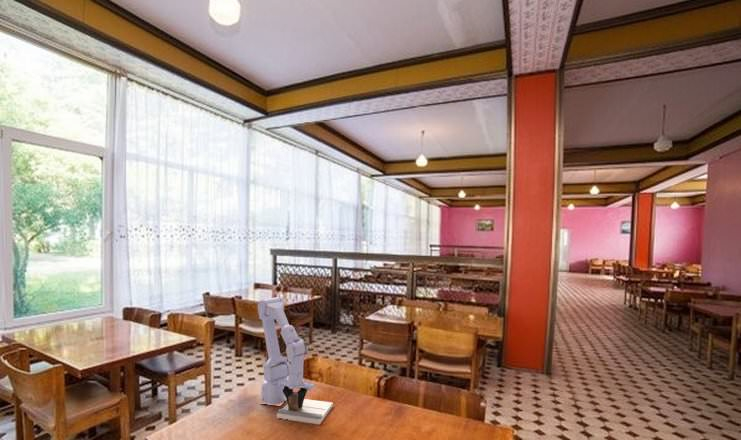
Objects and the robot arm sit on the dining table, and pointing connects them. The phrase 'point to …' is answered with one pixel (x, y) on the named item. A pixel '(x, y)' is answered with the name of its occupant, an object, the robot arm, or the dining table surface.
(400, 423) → the dining table surface
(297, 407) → the block
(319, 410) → the board
